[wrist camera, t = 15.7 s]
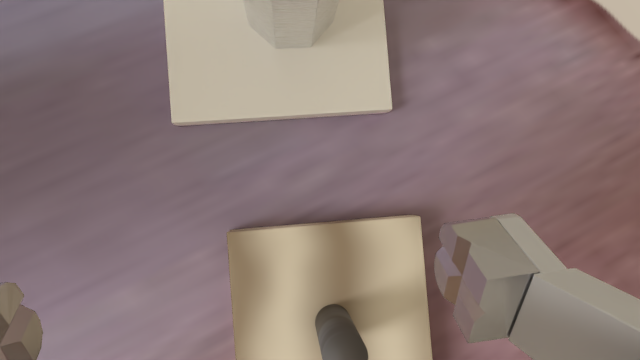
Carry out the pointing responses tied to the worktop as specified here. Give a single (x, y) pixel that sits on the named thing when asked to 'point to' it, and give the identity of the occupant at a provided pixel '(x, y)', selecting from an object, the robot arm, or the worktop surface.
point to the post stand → (330, 291)
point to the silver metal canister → (290, 20)
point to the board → (273, 65)
